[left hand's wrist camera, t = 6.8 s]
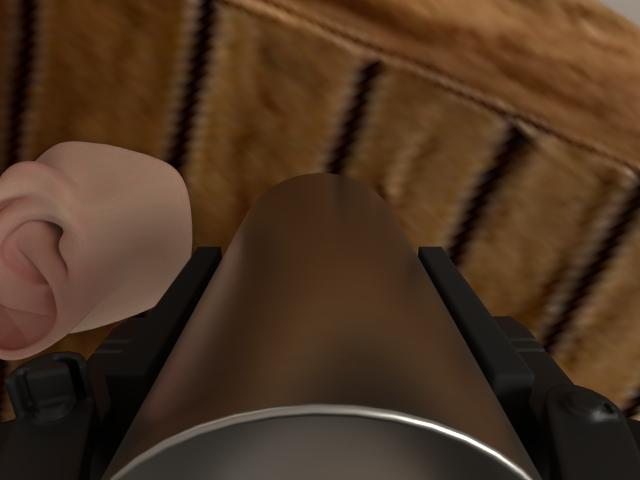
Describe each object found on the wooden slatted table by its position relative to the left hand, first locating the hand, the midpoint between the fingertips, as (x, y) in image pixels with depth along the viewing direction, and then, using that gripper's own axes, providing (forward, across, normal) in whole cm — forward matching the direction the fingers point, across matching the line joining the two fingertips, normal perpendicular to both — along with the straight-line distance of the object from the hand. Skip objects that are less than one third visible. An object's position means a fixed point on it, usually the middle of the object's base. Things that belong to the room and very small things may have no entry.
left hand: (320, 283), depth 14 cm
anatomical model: (+10, +14, +2) cm, 17 cm away
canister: (+2, 0, 0) cm, 2 cm away
